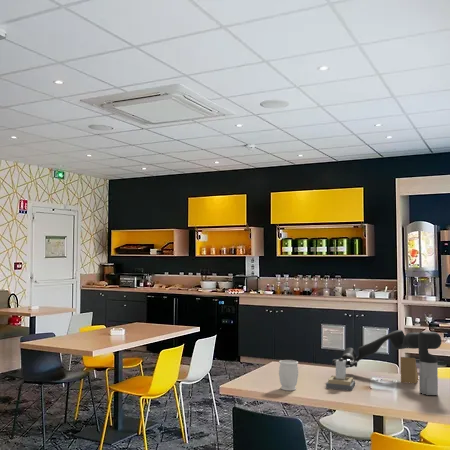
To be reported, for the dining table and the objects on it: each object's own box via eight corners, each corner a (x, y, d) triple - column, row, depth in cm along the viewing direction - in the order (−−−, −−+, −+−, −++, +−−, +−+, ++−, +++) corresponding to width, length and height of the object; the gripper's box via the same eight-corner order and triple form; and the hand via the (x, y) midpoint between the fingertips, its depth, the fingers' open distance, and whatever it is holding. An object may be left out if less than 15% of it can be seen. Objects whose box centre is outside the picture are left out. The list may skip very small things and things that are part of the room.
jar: (275, 389, 291) (276, 361, 292) (282, 386, 300) (283, 358, 302) (294, 392, 286) (294, 363, 287) (300, 388, 296) (301, 360, 297)
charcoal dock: (354, 385, 306) (355, 377, 306) (351, 390, 293) (351, 382, 293) (330, 382, 311) (330, 375, 311) (326, 388, 298) (326, 379, 298)
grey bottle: (345, 381, 304) (346, 358, 305) (344, 383, 299) (344, 359, 300) (337, 380, 306) (337, 357, 306) (335, 382, 301) (335, 358, 302)
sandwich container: (419, 379, 328) (419, 354, 329) (415, 384, 314) (415, 358, 315) (404, 377, 332) (404, 353, 333) (400, 382, 318) (400, 356, 319)
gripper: (335, 353, 329) (330, 357, 314) (359, 355, 324) (355, 359, 309) (335, 365, 329) (330, 370, 314) (359, 367, 324) (355, 372, 309)
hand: (343, 364), depth 311 cm, fingers open, 8 cm apart
